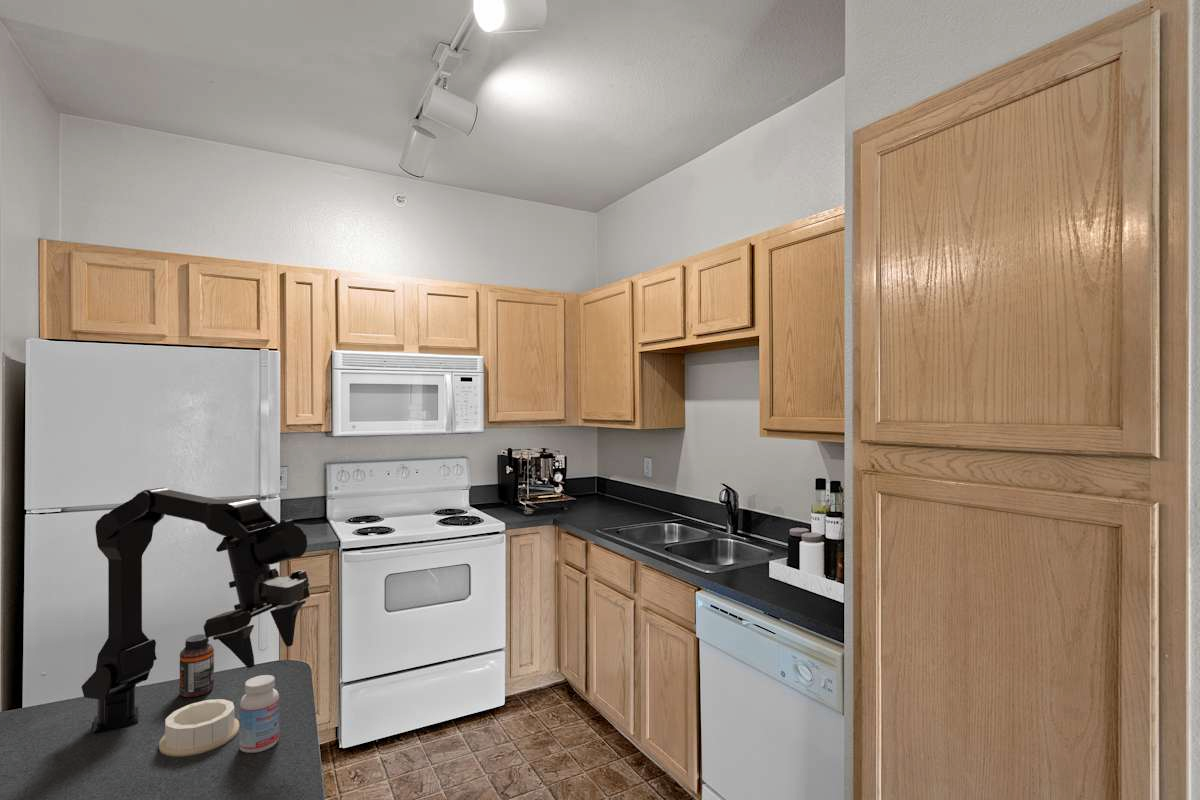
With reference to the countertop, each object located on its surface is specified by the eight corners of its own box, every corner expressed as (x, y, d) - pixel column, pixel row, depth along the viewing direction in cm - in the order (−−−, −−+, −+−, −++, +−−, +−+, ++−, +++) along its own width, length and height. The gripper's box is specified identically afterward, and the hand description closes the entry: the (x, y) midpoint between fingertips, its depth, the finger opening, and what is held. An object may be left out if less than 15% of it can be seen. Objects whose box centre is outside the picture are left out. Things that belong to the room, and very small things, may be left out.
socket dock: (157, 733, 110) (158, 710, 110) (234, 713, 117) (234, 691, 117) (160, 765, 100) (160, 739, 100) (243, 740, 108) (244, 716, 108)
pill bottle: (261, 756, 103) (262, 690, 103) (230, 752, 104) (231, 686, 104) (286, 737, 109) (287, 674, 109) (257, 733, 110) (257, 671, 110)
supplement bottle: (177, 690, 126) (178, 636, 126) (211, 682, 130) (211, 629, 130) (181, 701, 122) (181, 645, 122) (215, 692, 126) (216, 637, 126)
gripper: (247, 574, 97) (270, 670, 96) (324, 547, 116) (343, 628, 115) (192, 588, 100) (213, 683, 99) (275, 560, 118) (293, 639, 117)
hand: (271, 656), depth 107 cm, fingers open, 9 cm apart
